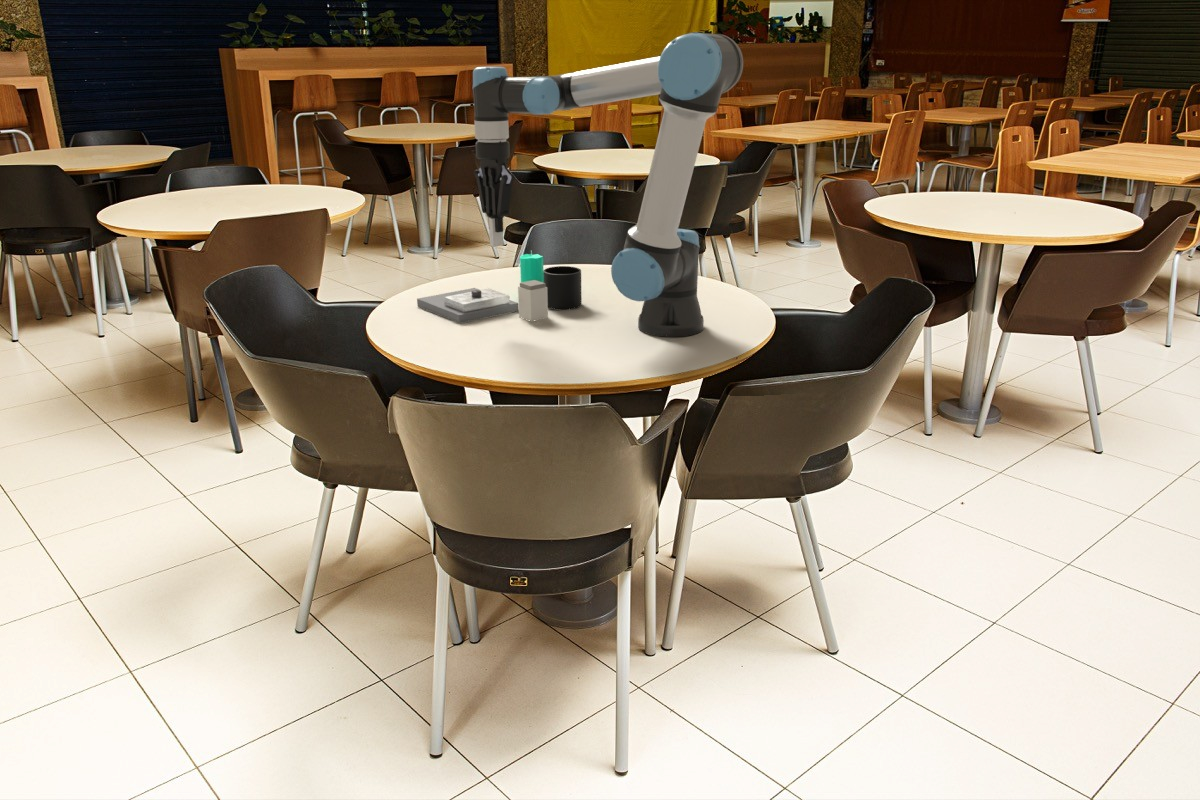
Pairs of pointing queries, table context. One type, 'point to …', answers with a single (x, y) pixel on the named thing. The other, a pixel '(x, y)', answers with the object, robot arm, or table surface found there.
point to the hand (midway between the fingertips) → (496, 245)
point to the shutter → (476, 300)
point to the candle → (531, 267)
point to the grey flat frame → (438, 307)
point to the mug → (563, 287)
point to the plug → (533, 300)
